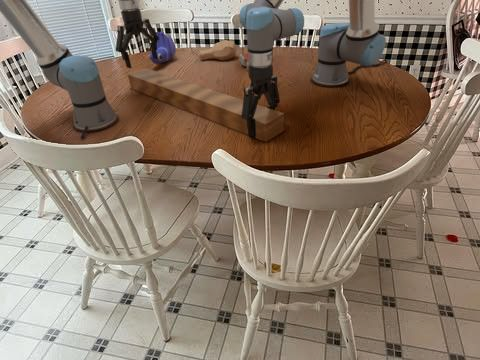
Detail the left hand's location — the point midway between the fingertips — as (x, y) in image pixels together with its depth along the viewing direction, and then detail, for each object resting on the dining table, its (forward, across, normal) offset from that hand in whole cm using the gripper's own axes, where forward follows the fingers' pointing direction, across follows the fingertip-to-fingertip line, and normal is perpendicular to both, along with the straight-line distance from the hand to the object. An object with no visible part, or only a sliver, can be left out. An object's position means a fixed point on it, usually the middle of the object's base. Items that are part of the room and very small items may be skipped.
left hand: (142, 62), depth 153 cm
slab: (+11, -1, -33) cm, 35 cm away
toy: (+12, +25, +22) cm, 35 cm away
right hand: (+11, -1, -67) cm, 68 cm away
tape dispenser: (+12, +46, -23) cm, 52 cm away
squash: (+12, +47, +2) cm, 48 cm away
